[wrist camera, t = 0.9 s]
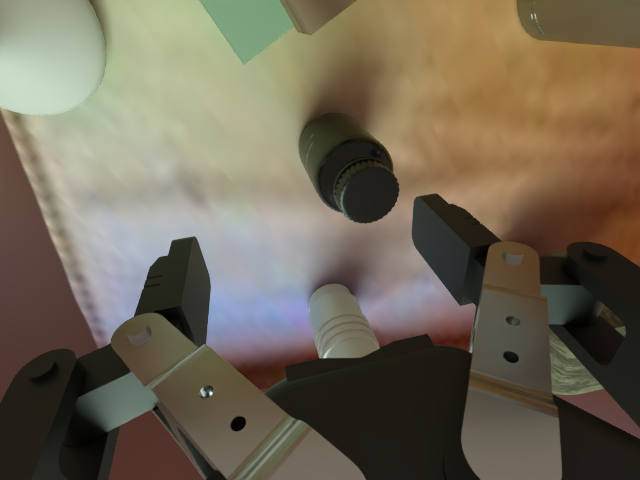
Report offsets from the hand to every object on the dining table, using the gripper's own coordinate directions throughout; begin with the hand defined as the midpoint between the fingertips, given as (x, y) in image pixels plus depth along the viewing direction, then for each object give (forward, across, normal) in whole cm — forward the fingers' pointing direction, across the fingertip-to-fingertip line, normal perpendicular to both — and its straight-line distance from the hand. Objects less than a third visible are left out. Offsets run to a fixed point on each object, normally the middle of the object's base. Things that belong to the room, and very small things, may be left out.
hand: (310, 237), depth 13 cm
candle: (+24, -4, +26) cm, 36 cm away
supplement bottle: (+24, -6, +5) cm, 25 cm away
